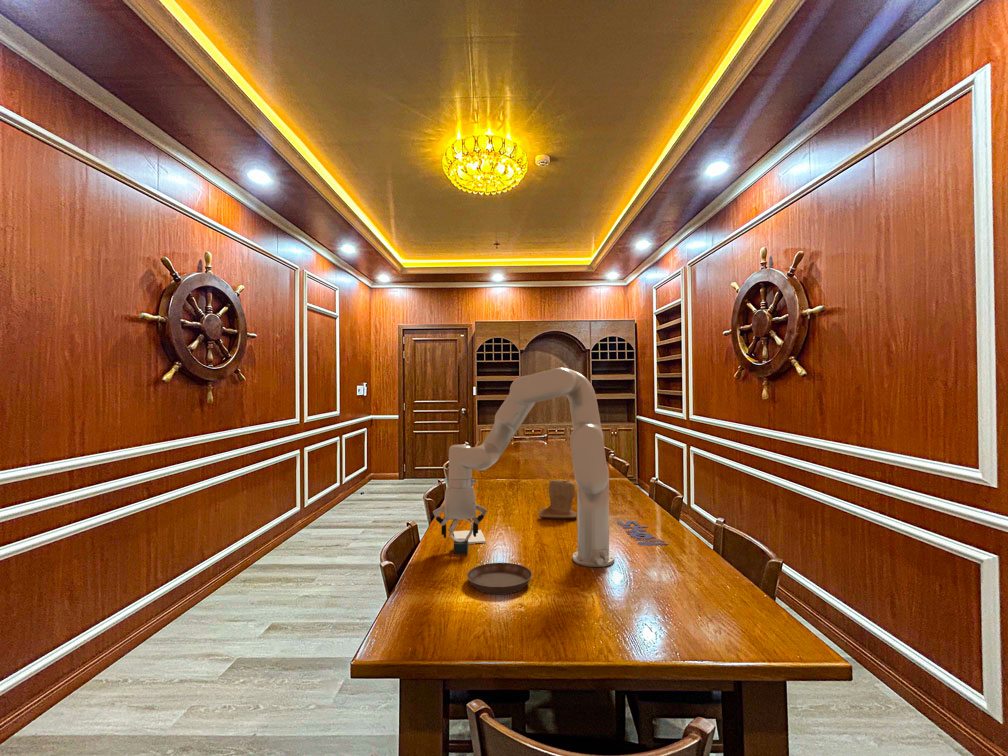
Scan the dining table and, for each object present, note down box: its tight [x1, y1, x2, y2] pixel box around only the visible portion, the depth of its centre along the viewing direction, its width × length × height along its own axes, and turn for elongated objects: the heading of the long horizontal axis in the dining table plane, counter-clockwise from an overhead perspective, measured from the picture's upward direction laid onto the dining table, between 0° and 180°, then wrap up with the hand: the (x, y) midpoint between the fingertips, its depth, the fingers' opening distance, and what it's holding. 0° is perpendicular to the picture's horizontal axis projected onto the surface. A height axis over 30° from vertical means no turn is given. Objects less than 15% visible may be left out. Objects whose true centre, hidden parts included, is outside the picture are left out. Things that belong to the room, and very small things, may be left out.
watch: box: [448, 519, 474, 555], centre depth 163 cm, size 6×8×11 cm
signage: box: [616, 520, 669, 546], centre depth 182 cm, size 28×1×10 cm
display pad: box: [452, 529, 487, 545], centre depth 176 cm, size 13×10×1 cm
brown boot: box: [538, 479, 577, 519], centre depth 203 cm, size 15×12×15 cm
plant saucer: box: [466, 562, 533, 595], centre depth 137 cm, size 18×18×3 cm
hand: (459, 536), depth 163 cm, fingers open, 9 cm apart
